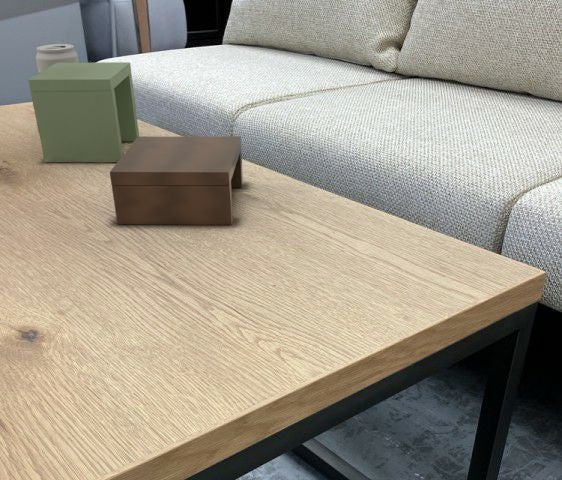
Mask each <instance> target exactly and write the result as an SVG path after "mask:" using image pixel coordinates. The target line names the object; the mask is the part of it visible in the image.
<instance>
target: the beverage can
mask: <svg viewBox="0 0 562 480" xmlns="http://www.w3.org/2000/svg"><path fill="white" fill-rule="evenodd" d="M36 51H37V52H36V55H35V61H36V66H37V71H38V74H39V73H40V72H42V71H44V70H45V69H47V68H49V67H50V66H52V65H54V64H55V63H80V61H79V60H80V59H79V55H78V53H77V51H76V50H75V46H74V45H73V44H69V43H53V44H44V45H41V46H37V47H36Z"/></svg>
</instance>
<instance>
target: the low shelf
mask: <svg viewBox="0 0 562 480" xmlns="http://www.w3.org/2000/svg"><path fill="white" fill-rule="evenodd" d="M242 150H243V149H242V137H241V136H139V137H137V138H136V139H135V140H134V141H132V142H131V144H130V146H129V147H128V148H127V149H126V151H125V152H123V156H122V157H121V158H120V159H119V161H118V162H115V164H114V166H113V167H112V168H111V170H110V171H109V177H110V182H111V183H110V184H111V191H112V197H113V205H114V210H115V211H114V212H115V217H116V223H117V225H183V226H185V225H189V226H190V225H191V226H193V225H195V226H196V225H200V226H202V225H203V226H205V225H207V226H210V225H211V226H213V225H214V226H216V225H217V226H220V225H222V226H229V225H230V226H231V225H232V224H233V221H234V214H233V194H232V188H235V189H236V188H240V189H241V188H243V184H244V176H243V174H244V173H243V153H242V152H243V151H242Z"/></svg>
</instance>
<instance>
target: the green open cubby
mask: <svg viewBox="0 0 562 480" xmlns="http://www.w3.org/2000/svg"><path fill="white" fill-rule="evenodd" d="M28 85H29V91H30V96H31V100H32V105H33V111H34V115H35V120H36V126H37V130H38V136H39V140H40V146H41V150H42V155H43V161H44V163H117V162H118V161H119V159H120V158H121V157H122V156H123V154H124V150H123V144H122V142H134V140H135V139H136V138H137V137H140V131H139V124H138V115H137V107H136V100H135V98H136V97H135V90H134V81H133V75H132V68H131V62H128V61H127V62H124V61H123V62H121V61H119V62H111V61H110V62H106V61H105V62H79V63H55V64H54V65H52V66H50V67H49V68H47V69H45V70H44V71H42V72H40V73H39V72H38V73H37V74H35V75H34V76H31V77H30V78H28Z"/></svg>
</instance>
